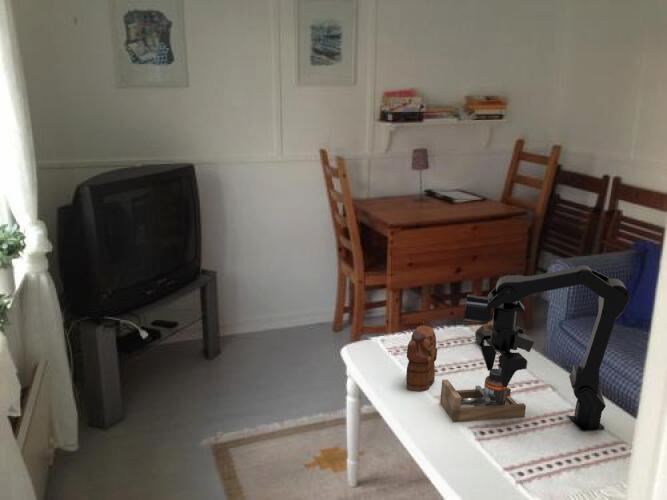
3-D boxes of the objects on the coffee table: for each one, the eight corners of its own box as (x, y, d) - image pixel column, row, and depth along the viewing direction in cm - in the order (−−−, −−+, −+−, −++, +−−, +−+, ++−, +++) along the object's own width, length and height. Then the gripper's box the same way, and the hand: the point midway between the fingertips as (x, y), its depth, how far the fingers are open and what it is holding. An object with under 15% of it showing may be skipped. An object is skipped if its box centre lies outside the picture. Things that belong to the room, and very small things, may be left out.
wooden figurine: (422, 395, 168) (427, 336, 163) (402, 389, 171) (406, 331, 167) (438, 379, 178) (443, 323, 173) (418, 373, 181) (423, 318, 176)
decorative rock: (504, 354, 196) (508, 324, 193) (487, 356, 195) (491, 325, 192) (487, 339, 207) (490, 310, 205) (471, 341, 206) (474, 311, 203)
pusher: (488, 414, 158) (490, 397, 157) (466, 416, 157) (467, 399, 156) (477, 401, 165) (479, 385, 163) (456, 403, 164) (458, 386, 162)
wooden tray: (524, 417, 159) (527, 393, 157) (453, 422, 155) (455, 398, 153) (507, 398, 168) (510, 376, 166) (440, 402, 165) (442, 379, 163)
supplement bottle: (502, 404, 165) (507, 367, 162) (506, 415, 159) (511, 377, 156) (480, 402, 165) (484, 365, 162) (483, 414, 160) (488, 375, 157)
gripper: (550, 337, 148) (542, 394, 152) (515, 310, 166) (509, 361, 170) (508, 339, 146) (501, 396, 150) (478, 311, 164) (472, 363, 168)
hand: (496, 378), depth 160 cm, fingers open, 9 cm apart
